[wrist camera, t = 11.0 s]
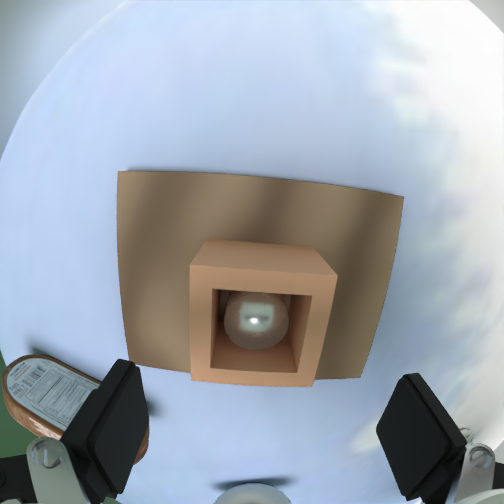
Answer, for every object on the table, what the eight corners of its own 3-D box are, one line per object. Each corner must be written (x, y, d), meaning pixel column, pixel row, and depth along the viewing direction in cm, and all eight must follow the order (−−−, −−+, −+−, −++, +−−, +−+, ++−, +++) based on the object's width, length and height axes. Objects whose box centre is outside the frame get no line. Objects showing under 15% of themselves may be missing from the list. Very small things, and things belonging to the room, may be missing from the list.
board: (393, 194, 18) (404, 196, 16) (354, 366, 21) (360, 377, 20) (127, 171, 17) (117, 171, 16) (135, 352, 21) (129, 363, 19)
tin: (32, 359, 21) (-10, 405, 13) (29, 337, 21) (-18, 383, 13) (157, 419, 23) (136, 486, 15) (161, 400, 22) (137, 473, 14)
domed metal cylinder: (283, 269, 17) (293, 296, 13) (277, 316, 18) (284, 351, 14) (230, 265, 17) (225, 292, 13) (227, 313, 18) (222, 347, 14)
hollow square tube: (313, 247, 17) (337, 275, 12) (298, 338, 19) (312, 386, 14) (206, 238, 17) (189, 264, 12) (203, 332, 18) (191, 380, 14)
